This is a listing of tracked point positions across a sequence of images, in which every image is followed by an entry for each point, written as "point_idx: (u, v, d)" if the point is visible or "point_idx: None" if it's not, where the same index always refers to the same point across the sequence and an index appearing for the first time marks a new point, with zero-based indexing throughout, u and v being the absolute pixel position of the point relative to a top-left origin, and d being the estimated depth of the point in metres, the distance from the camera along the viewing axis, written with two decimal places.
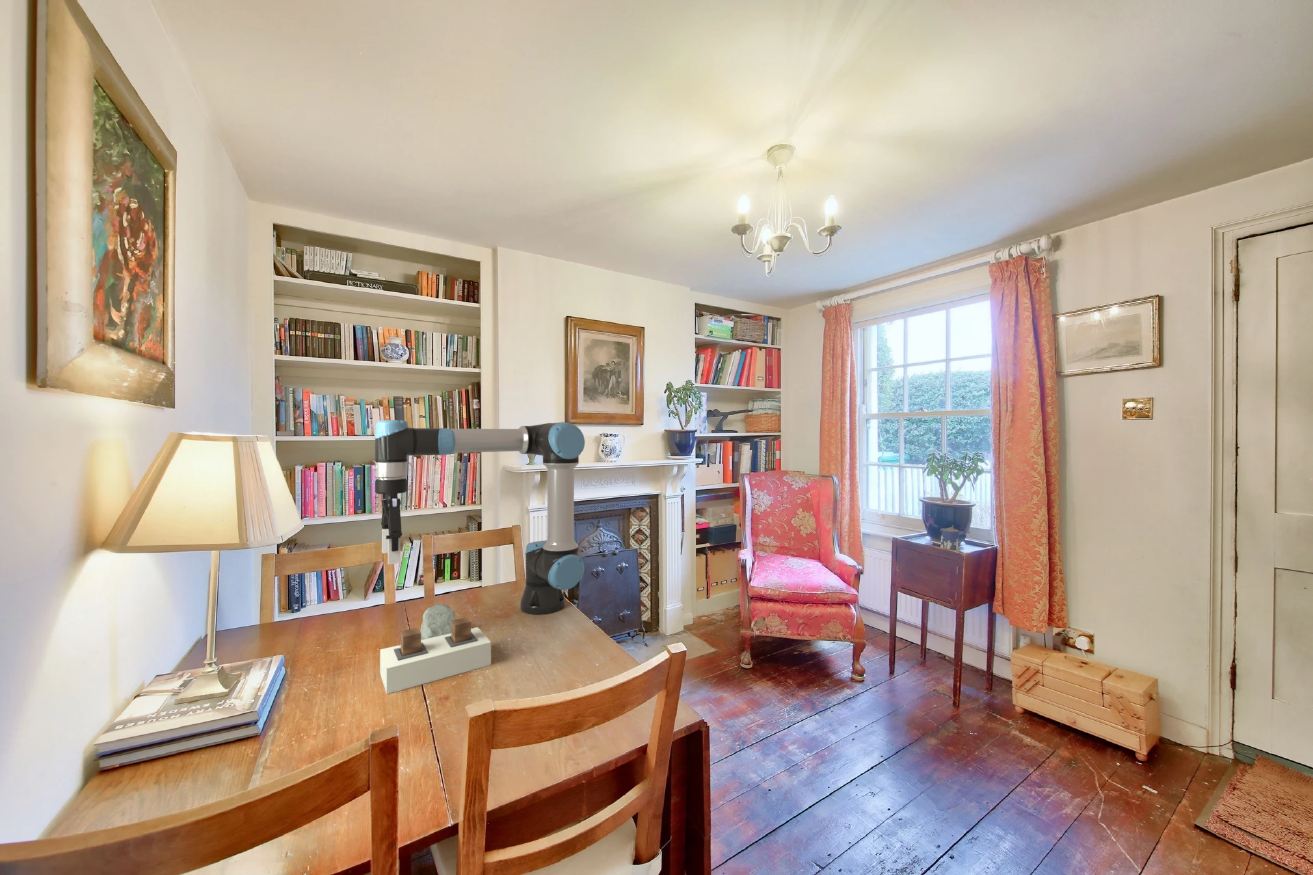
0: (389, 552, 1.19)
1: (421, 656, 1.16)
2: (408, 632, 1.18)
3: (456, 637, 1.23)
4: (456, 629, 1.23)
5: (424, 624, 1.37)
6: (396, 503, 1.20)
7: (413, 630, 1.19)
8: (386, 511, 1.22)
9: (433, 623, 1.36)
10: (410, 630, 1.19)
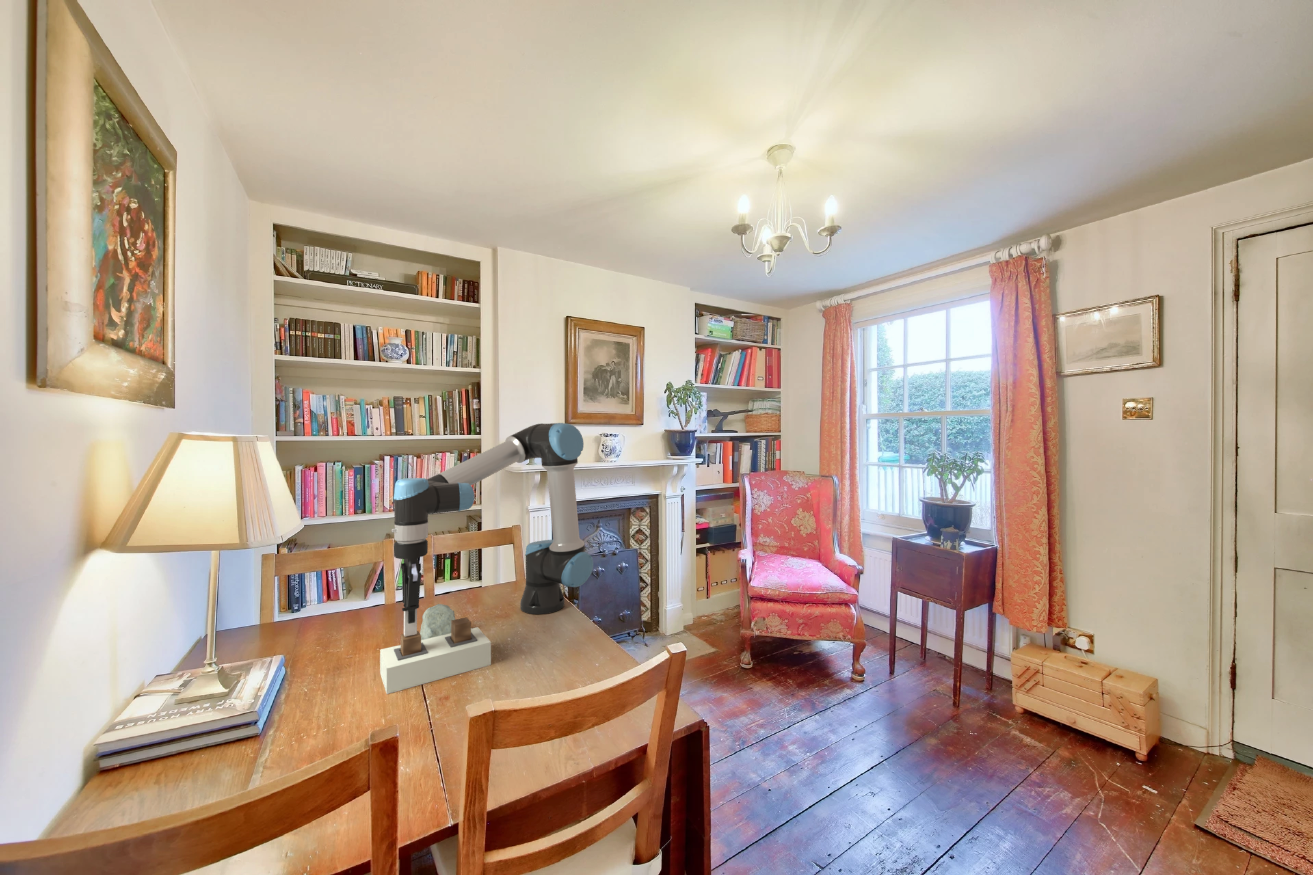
0: (405, 624, 1.17)
1: (421, 656, 1.16)
2: None
3: (456, 637, 1.23)
4: (456, 629, 1.23)
5: (424, 624, 1.37)
6: (417, 579, 1.14)
7: None
8: (405, 580, 1.16)
9: (433, 623, 1.36)
10: None
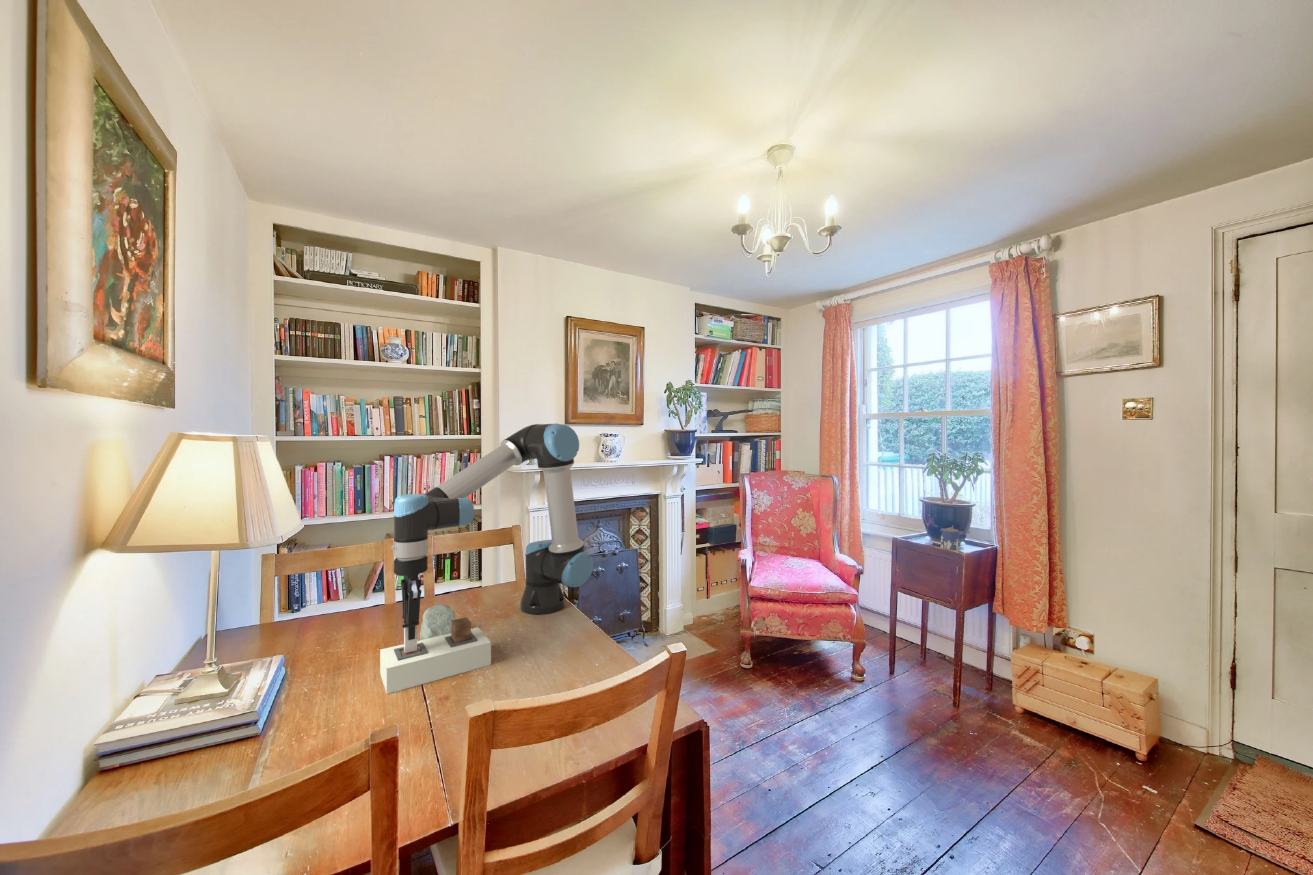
0: (406, 640, 1.17)
1: (421, 656, 1.16)
2: (408, 652, 1.18)
3: (456, 637, 1.23)
4: (456, 629, 1.23)
5: (424, 624, 1.37)
6: (417, 596, 1.14)
7: None
8: (405, 597, 1.16)
9: (433, 623, 1.36)
10: None
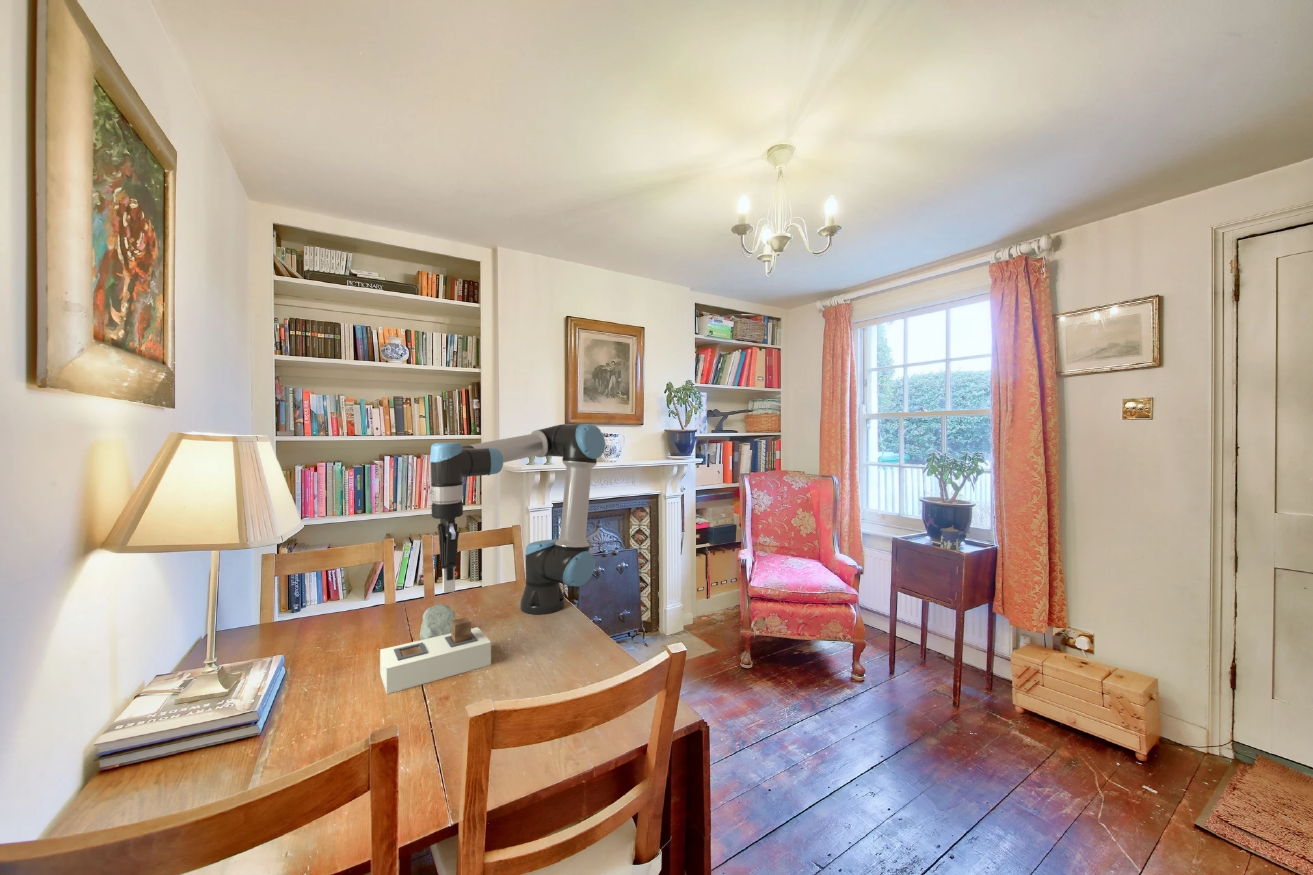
0: (444, 581, 1.23)
1: (421, 656, 1.16)
2: (408, 652, 1.18)
3: (456, 637, 1.23)
4: (456, 629, 1.23)
5: (424, 624, 1.37)
6: (455, 537, 1.19)
7: (413, 649, 1.19)
8: (443, 539, 1.21)
9: (433, 623, 1.36)
10: (409, 649, 1.19)
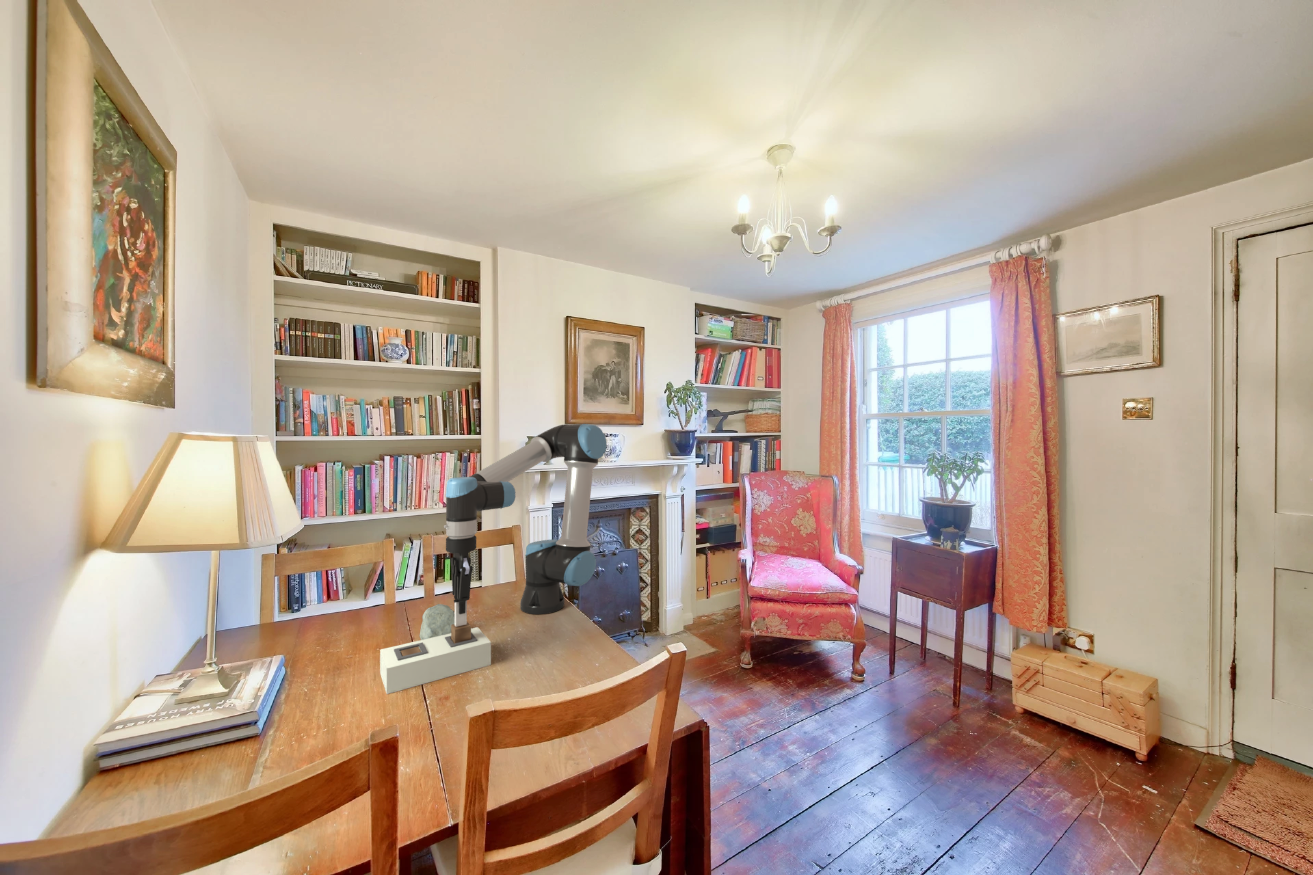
0: (457, 615, 1.24)
1: (421, 656, 1.16)
2: (408, 652, 1.18)
3: (456, 641, 1.23)
4: (456, 633, 1.23)
5: (424, 624, 1.37)
6: (468, 572, 1.21)
7: (413, 649, 1.19)
8: (457, 573, 1.23)
9: (433, 623, 1.36)
10: (409, 649, 1.19)
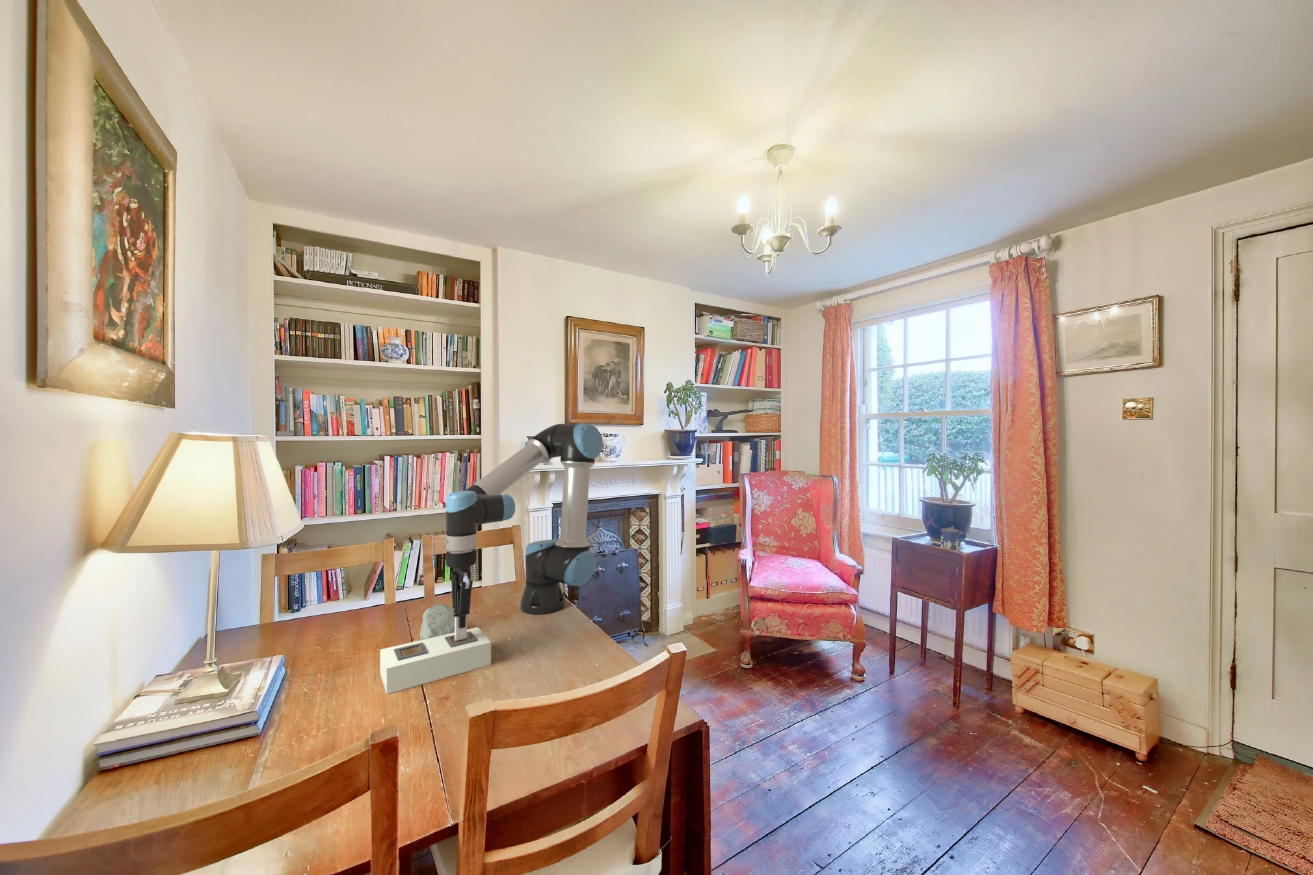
0: (457, 629, 1.24)
1: (421, 656, 1.16)
2: (408, 652, 1.18)
3: None
4: None
5: (424, 624, 1.37)
6: (468, 586, 1.21)
7: (413, 649, 1.19)
8: (457, 587, 1.23)
9: (433, 623, 1.36)
10: (409, 649, 1.19)
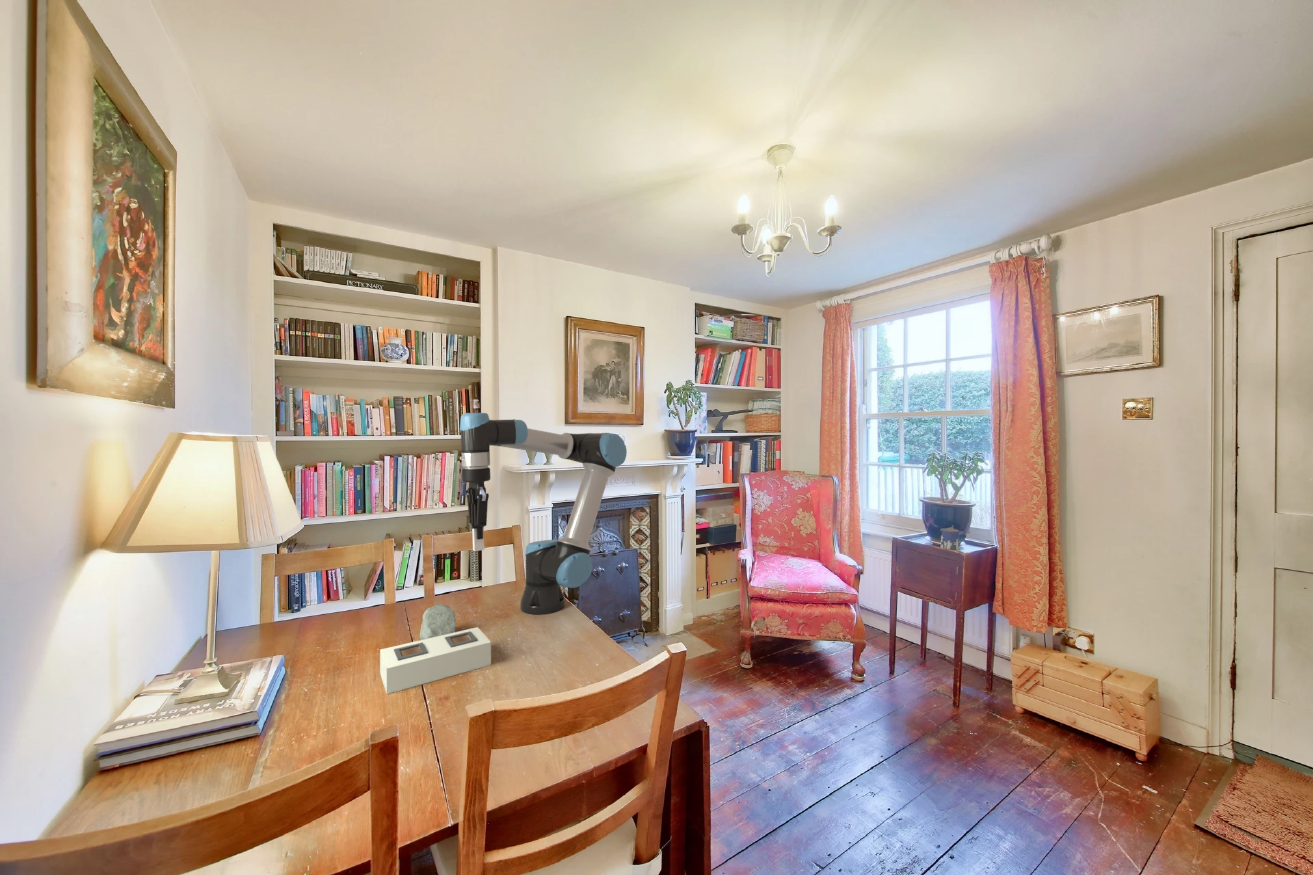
0: (475, 540, 1.33)
1: (421, 656, 1.16)
2: (408, 652, 1.18)
3: None
4: None
5: (424, 624, 1.37)
6: (485, 499, 1.30)
7: (413, 649, 1.19)
8: (473, 501, 1.32)
9: (433, 623, 1.36)
10: (409, 649, 1.19)
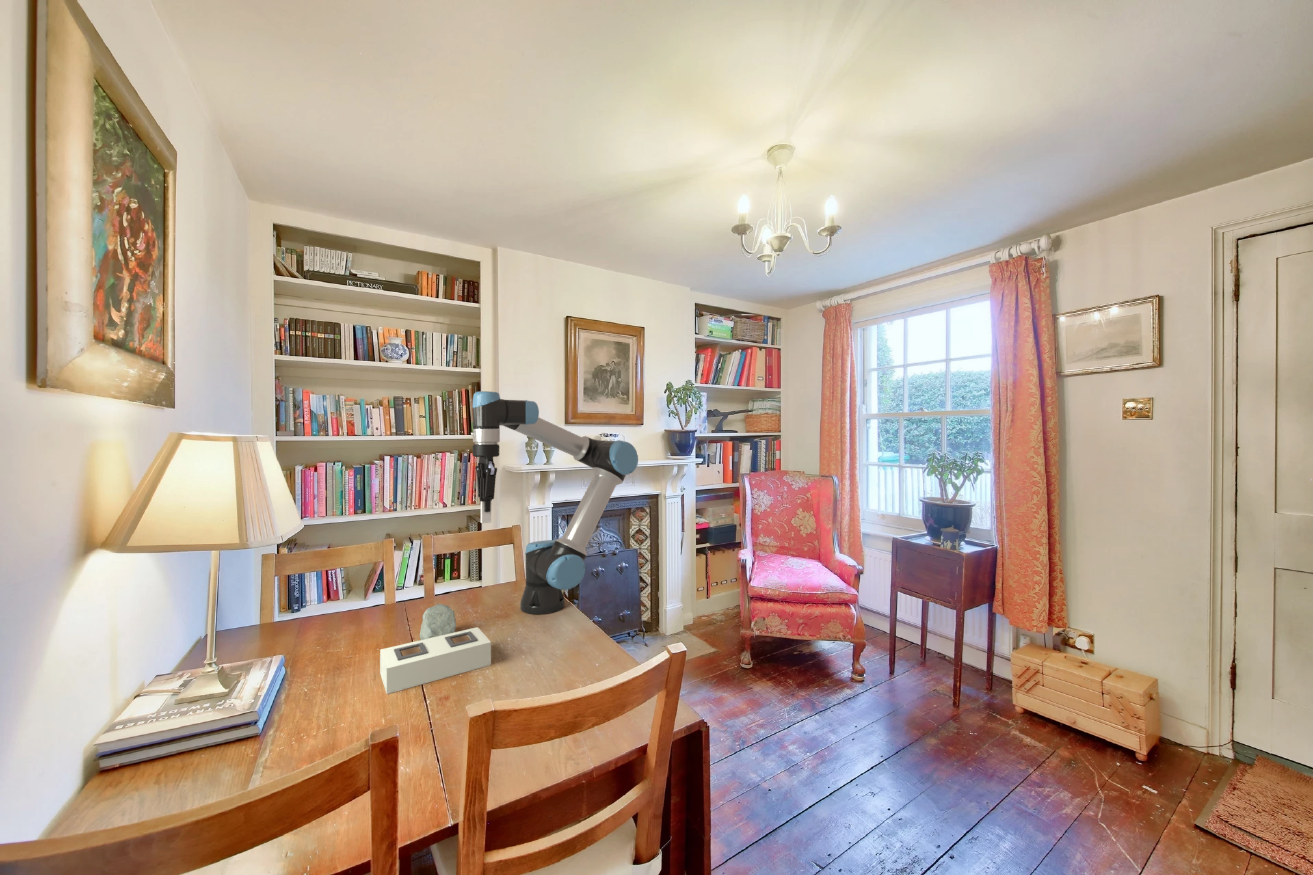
0: (482, 513, 1.40)
1: (421, 656, 1.16)
2: (408, 652, 1.18)
3: None
4: None
5: (424, 624, 1.37)
6: (493, 472, 1.36)
7: (413, 649, 1.19)
8: (482, 475, 1.39)
9: (433, 623, 1.36)
10: (409, 649, 1.19)
